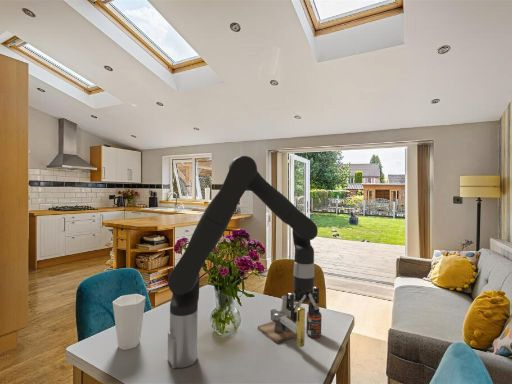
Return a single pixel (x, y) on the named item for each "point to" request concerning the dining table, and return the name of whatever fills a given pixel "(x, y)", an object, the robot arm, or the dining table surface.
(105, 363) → the dining table surface
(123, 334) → the cup
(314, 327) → the supplement bottle
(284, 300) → the flask
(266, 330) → the base
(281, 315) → the lever
